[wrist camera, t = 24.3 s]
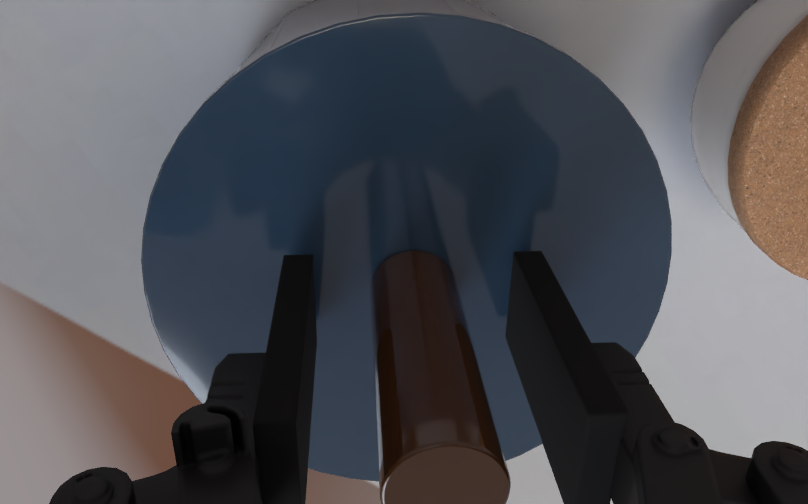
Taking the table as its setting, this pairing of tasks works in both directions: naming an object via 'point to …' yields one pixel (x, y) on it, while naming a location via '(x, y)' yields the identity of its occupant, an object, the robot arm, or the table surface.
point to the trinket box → (759, 128)
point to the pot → (344, 3)
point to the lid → (406, 233)
